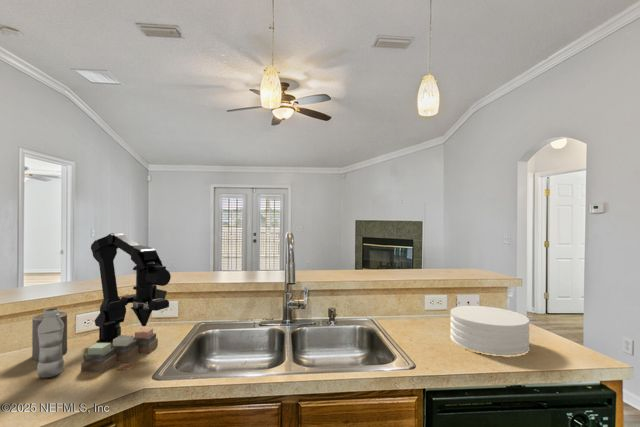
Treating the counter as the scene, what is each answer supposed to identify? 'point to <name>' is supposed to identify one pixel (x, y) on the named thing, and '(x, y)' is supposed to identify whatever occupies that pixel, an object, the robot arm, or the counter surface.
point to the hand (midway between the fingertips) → (144, 325)
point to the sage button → (99, 349)
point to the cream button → (123, 340)
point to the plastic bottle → (50, 344)
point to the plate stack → (490, 330)
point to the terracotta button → (144, 333)
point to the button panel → (119, 355)
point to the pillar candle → (35, 338)
